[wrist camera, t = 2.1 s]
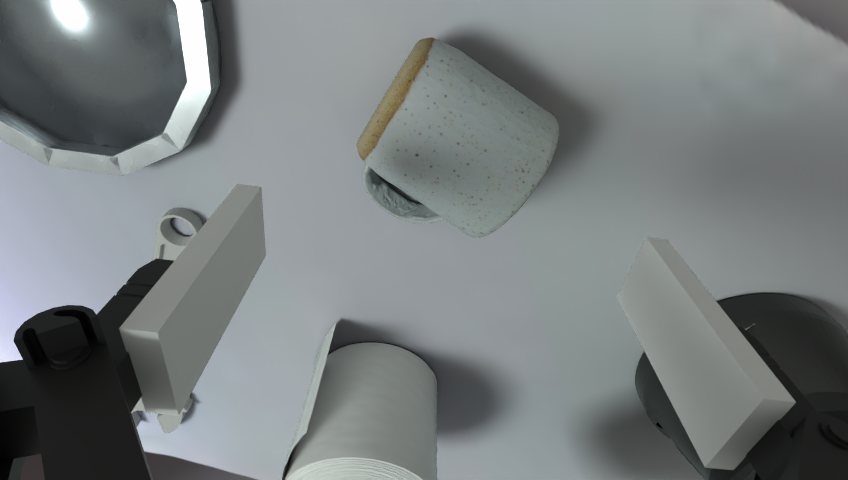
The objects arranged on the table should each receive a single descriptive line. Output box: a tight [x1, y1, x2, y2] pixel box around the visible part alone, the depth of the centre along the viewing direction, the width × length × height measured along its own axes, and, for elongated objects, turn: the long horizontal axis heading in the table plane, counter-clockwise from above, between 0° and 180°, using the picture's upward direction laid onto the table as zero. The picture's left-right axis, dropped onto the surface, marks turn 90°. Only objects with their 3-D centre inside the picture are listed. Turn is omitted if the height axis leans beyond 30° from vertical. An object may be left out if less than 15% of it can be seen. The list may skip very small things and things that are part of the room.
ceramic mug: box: [357, 38, 560, 238], centre depth 24 cm, size 11×8×8 cm
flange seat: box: [0, 0, 221, 176], centre depth 23 cm, size 16×16×2 cm
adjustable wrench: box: [131, 208, 203, 433], centre depth 36 cm, size 25×6×2 cm, turn 151°
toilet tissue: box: [282, 323, 437, 480], centre depth 35 cm, size 11×12×10 cm
